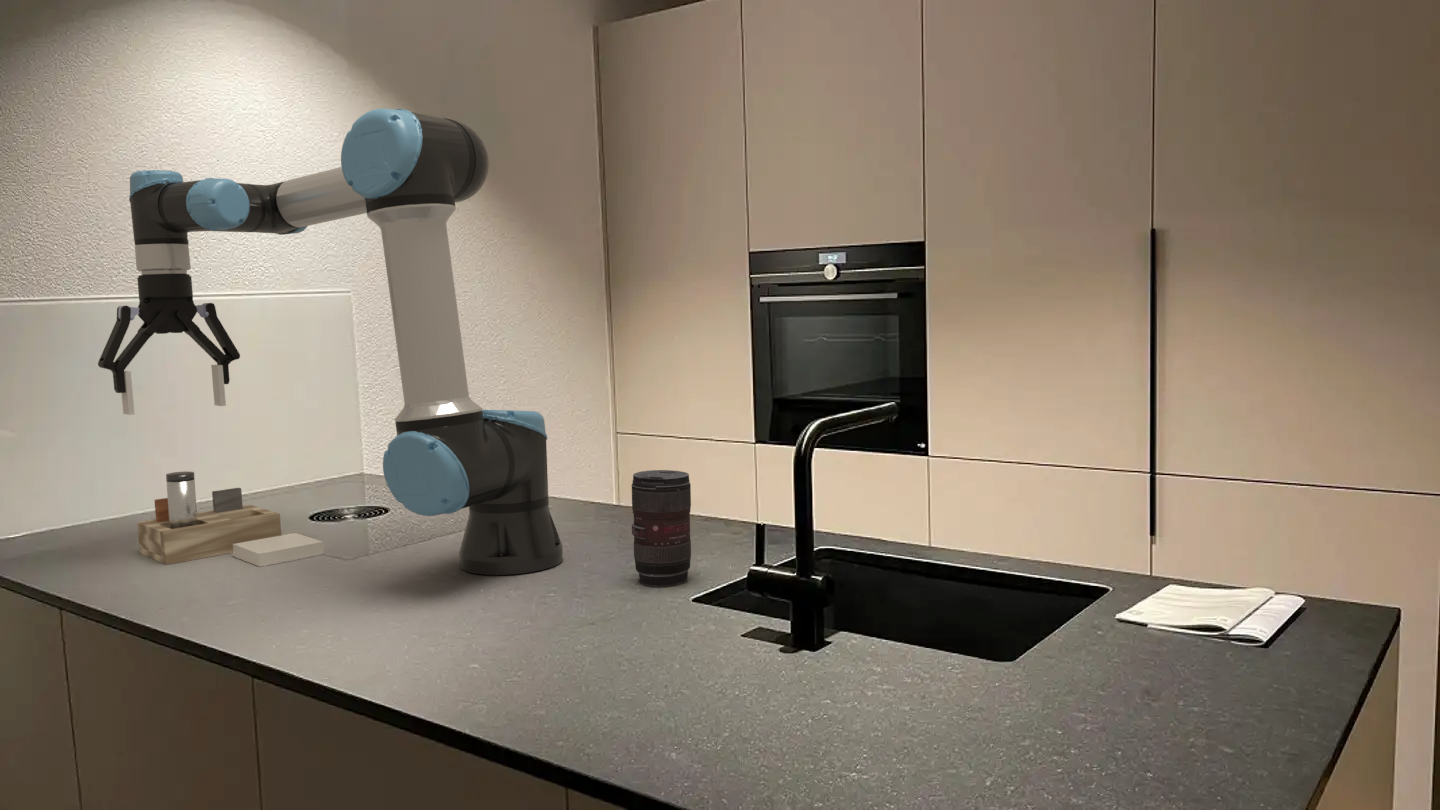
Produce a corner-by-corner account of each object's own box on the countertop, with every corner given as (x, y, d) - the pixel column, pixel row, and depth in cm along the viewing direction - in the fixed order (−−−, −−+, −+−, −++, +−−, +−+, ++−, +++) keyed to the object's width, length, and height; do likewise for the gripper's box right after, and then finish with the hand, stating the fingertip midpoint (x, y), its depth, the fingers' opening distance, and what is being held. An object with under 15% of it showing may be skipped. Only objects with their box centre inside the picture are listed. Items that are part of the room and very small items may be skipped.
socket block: (281, 543, 184) (278, 492, 183) (166, 564, 171) (161, 510, 171) (251, 533, 193) (248, 484, 192) (139, 552, 180) (135, 500, 179)
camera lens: (685, 589, 150) (682, 478, 149) (627, 587, 152) (623, 478, 150) (699, 573, 158) (696, 468, 156) (643, 572, 160) (640, 468, 158)
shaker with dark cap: (202, 548, 178) (198, 473, 176) (176, 552, 175) (171, 476, 174) (193, 544, 181) (188, 470, 179) (167, 548, 178) (162, 473, 176)
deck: (323, 554, 176) (322, 541, 175) (260, 566, 169) (259, 553, 168) (295, 545, 183) (294, 533, 182) (233, 556, 176) (232, 544, 175)
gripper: (236, 272, 184) (246, 401, 187) (66, 275, 167) (80, 416, 169) (254, 271, 179) (264, 403, 181) (82, 273, 162) (95, 419, 164)
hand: (175, 409), depth 175 cm, fingers open, 13 cm apart
